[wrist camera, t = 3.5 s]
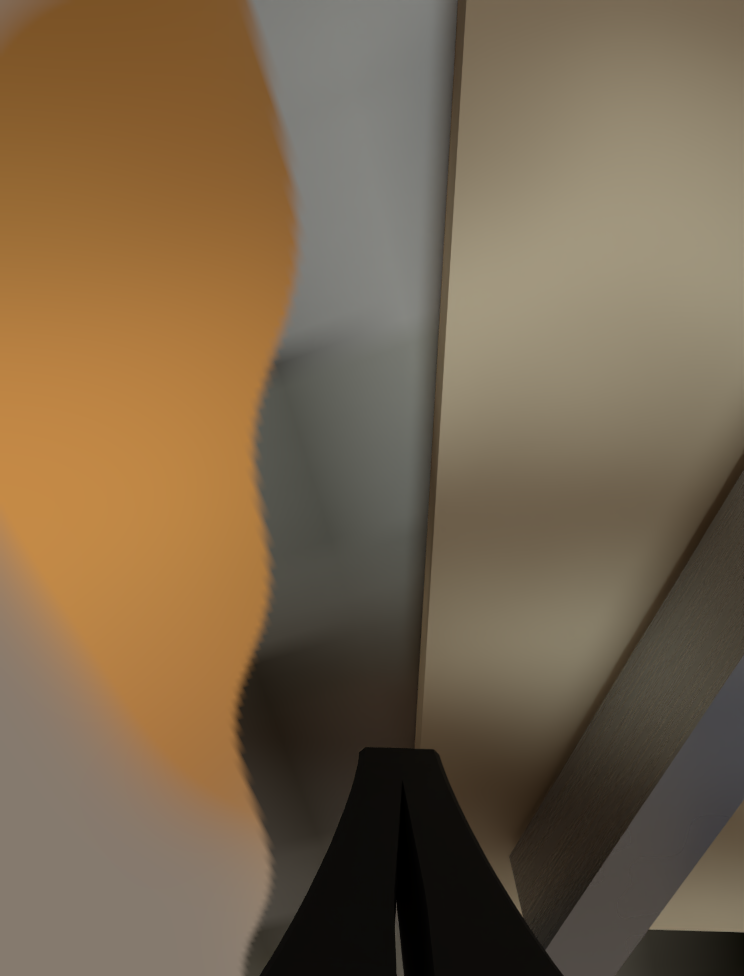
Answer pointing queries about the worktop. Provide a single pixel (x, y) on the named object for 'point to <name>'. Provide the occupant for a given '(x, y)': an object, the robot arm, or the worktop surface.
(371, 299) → the worktop surface
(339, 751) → the worktop surface
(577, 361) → the board
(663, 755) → the bar
